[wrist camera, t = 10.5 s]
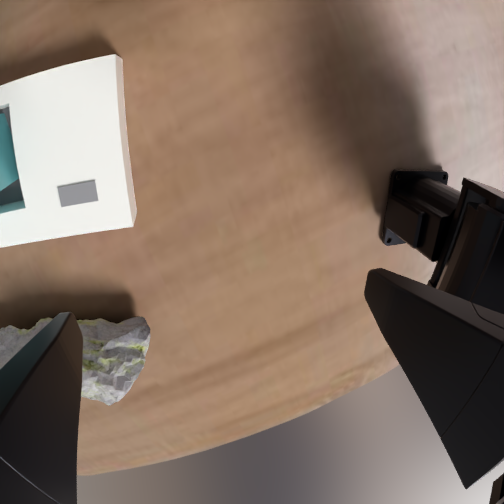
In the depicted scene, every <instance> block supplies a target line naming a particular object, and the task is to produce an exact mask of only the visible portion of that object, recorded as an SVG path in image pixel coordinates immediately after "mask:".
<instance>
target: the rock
mask: <svg viewBox="0 0 504 504" xmlns="http://www.w3.org/2000/svg"><path fill="white" fill-rule="evenodd" d="M51 320H52V318H49V317H48V318H46V319H40V320H39V321H38V322H37V323H36V326H34V327H32V328H31V329H29V330H26V329H24V328H23V329H22V330H21V329H18V328H16V327H14V326H11V325H9V326H7V327H6V328H3V327H2V328H1V329H0V369H1V368H2V367H3V366H4V365H5V364H6V363H7V362H8V361H9V360H10V359H11V358H12V357H13V356H14V355H15V354H16V353H17V352H18V351H19V350H20V349H21V348H22V347H23V346H24V345H26V344H27V343H28V342H29V341H30V340H31V339H32V338H33V337H34V336H35V335H36V334H37V333H38V332H39V331H40V330H42V329H43V328H44V327H45V326H46V325H47V324H48V323H49V322H50V321H51ZM77 323H78V325H79V328H80V330H81V332H82V335H83V363H82V392H81V397H86V398H88V399H91V400H99V401H101V402H104V403H105V404H107V405H109V406H110V405H111V404H113V403H114V402H118V401H119V400H121V399H122V398H123V397H124V395H125V394H126V393H127V392H128V391H129V390H130V388H131V386H132V384H133V382H134V381H135V380H136V379H137V377H138V375H139V374H140V372H141V370H142V369H143V367H144V363H145V355H146V352H147V350H148V346H149V342H150V328H149V326H148V324H147V322H146V320H145V318H144V317H139V316H138V317H133V318H131V319H127V320H124V321H122V322H121V323H118V324H115V323H112V322H108V321H106V320H104V319H101V318H100V319H95V320H87V319H85V320H77Z"/></svg>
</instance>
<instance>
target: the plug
mask: <svg viewBox="0 0 504 504" xmlns="http://www.w3.org/2000/svg"><path fill="white" fill-rule="evenodd" d="M17 179H19V174H18V169H17V163H16V157H15V151H14V144H13V137H12V134H11V131H10V128H9V125H8V123H7V120H6V117H5V114H4V113H3V114H0V191H1V190H3V189H4V188H6V187H7V186H8V185H10V184H11V183H13V182H14V181H16V180H17Z"/></svg>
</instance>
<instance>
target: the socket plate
mask: <svg viewBox="0 0 504 504" xmlns="http://www.w3.org/2000/svg"><path fill="white" fill-rule="evenodd" d="M3 113H4V114H5V117H6V120H7V123H8V125H9V128H10V131H11V134H12V137H13V144H14V151H15V157H16V163H17V169H18V174H19V179H17V180H16V181H14V182H13V183H11V184H10V185H8V186H7V187H6V188H4V189H3V190H1V191H0V248H1V247H7V246H12V245H18V244H24V243H29V242H35V241H41V240H47V239H53V238H60V237H66V236H72V235H79V234H85V233H92V232H99V231H106V230H113V229H120V228H127V227H133V225H134V222H135V218H136V214H137V207H136V201H135V194H134V187H133V180H132V172H131V164H130V155H129V146H128V136H127V125H126V113H125V99H124V82H123V59H122V58H120V57H119V56H117V55H116V54H113V55H108V56H103V57H98V58H93V59H88V60H84V61H80V62H75V63H71V64H67V65H64V66H60V67H56V68H53V69H49V70H46V71H42V72H39V73H36V74H33V75H29V76H26V77H23V78H20V79H18V80H15V81H12V82H9V83H6V84H4V85H1V86H0V114H3Z"/></svg>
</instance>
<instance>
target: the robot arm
mask: <svg viewBox="0 0 504 504" xmlns="http://www.w3.org/2000/svg"><path fill="white" fill-rule="evenodd" d="M397 174H398V177H397V178H396V176H397ZM447 181H448V173H447V172H445V171H442V170H394V171H393V172H392V173H391V178H390V187H389V195H388V202H387V209H386V216H385V223H384V230H383V236H382V242H383V243H384V244H385V245H386V246H390V245H397V244H403V243H407V244H408V245H410V246H411V247H412V248H414V249H417V250H418V251H419V252H420V253H422V254H423V255H424V256H426V257H427V258H428V259H429V260H431V261H432V262H434V261H435V262H436V263H437V264H436V267H435V269H434V272H433V274H432V277H431V279H430V280H429V281H428V284H427V285H425V284H423V283H420V282H417V281H415V280H412V279H409V278H407V277H404V276H401V275H399V274H396V273H393V272H391V271H388V270H385V269H382V268H377V269H372V270H370V271H369V272H368V275H367V280H366V286H365V291H364V295H365V299H366V301H367V303H368V305H369V307H370V309H371V312H372V314H373V316H374V318H375V320H376V322H377V324H378V326H379V328H380V331H381V333H382V334H383V336H384V338H385V340H386V342H387V343H388V345H389V347H390V348H391V350H392V352H393V353H394V355H395V357H396V358H397V360H398V362H399V364H400V365H401V367H402V369H403V371H404V372H405V374H406V376H407V377H408V379H409V381H410V383H411V384H412V386H413V388H414V390H415V392H416V393H417V395H418V397H419V399H420V401H421V402H422V404H423V406H424V408H425V410H426V412H427V414H428V416H429V417H430V419H431V421H432V423H433V425H434V427H435V429H436V431H437V432H438V435H439V436H440V437H441V440H442V443H443V444H444V447H445V449H446V450H447V452H448V454H449V456H450V458H451V461H452V463H453V465H454V467H455V469H456V471H457V473H458V475H459V477H460V479H461V481H462V483H463V485H464V487H465V489H468V488H469V487H470V486H472V485H473V484H475V483H476V482H477V481H479V480H480V479H481V478H483V477H484V476H485V475H486V474H488V473H489V472H490V471H491V470H493V469H494V468H495V467H496V466H497V465H499V464H500V463H501V462H502V461H503V460H504V192H502V191H500V190H498V189H496V188H493V187H490V186H488V185H485V184H482V183H479V182H476V181H473V180H470V179H467V178H464V177H463V181H462V185H463V186H462V189H461V192H460V191H458V190H456V189H453V188H451V187H449V186H447ZM388 238H389V239H388ZM387 239H388V240H387ZM82 363H83V335H82V332H81V330H80V328H79V325H78V323H77V320H76V318H75V315H74V314H73V313H72V312H64V313H59V314H58V315H57V316H56V317H55V318H54V319H52V320H51V321H50V322H49V323H48V324H47V325H46V326H45V327H44V328H43V329H42V330H40V331H39V332H38V333H37V334H36V335H35V336H34V337H33V338H32V339H31V340H30V341H29V342H28V343H27V344H26V345H24V346H23V347H22V348H21V349H20V350H19V351H18V352H17V353H16V354H15V355H14V356H13V357H12V358H11V359H10V360H9V361H8V362H7V363H6V364H5V365H4V366H3V367H2V368H1V369H0V504H77V483H76V482H77V481H76V480H77V479H76V478H77V477H76V476H77V441H78V425H79V412H80V401H81V392H82ZM489 504H504V473H503V474H502V475H501V476H500V477H499V478H498V479H496V480H495V481H494V482H493V487H492V493H491V498H490V503H489Z"/></svg>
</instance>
